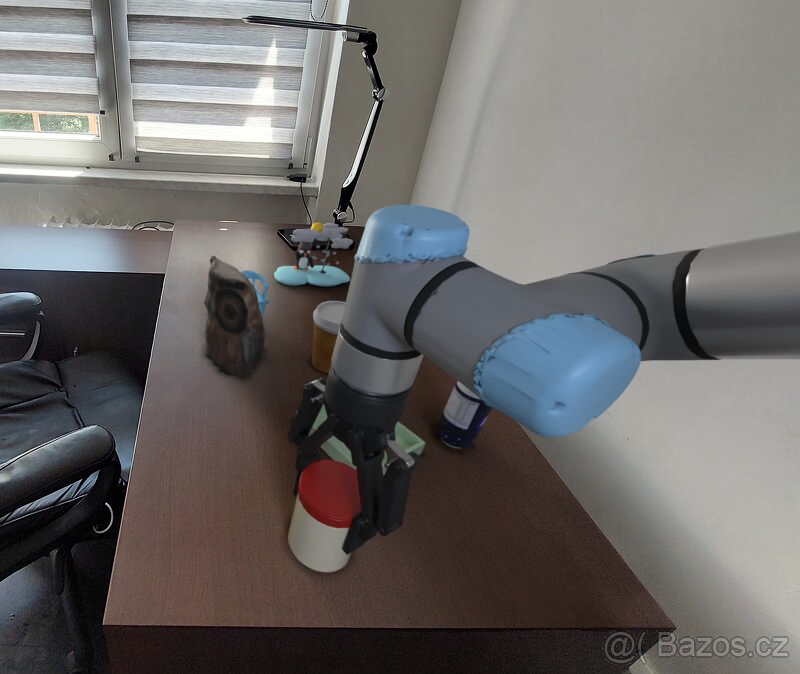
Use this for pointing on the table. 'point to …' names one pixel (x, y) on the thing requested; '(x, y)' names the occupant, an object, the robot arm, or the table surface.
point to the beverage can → (462, 418)
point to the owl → (232, 321)
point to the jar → (316, 542)
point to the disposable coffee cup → (326, 332)
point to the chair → (261, 297)
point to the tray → (343, 454)
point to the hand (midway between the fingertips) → (326, 517)
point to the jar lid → (330, 493)
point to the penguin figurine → (314, 273)
